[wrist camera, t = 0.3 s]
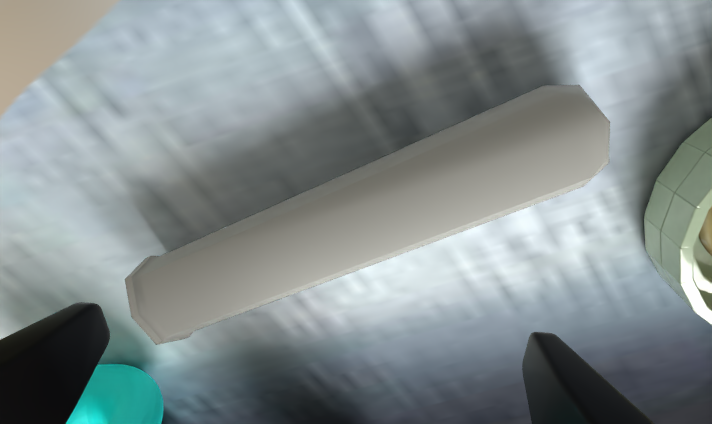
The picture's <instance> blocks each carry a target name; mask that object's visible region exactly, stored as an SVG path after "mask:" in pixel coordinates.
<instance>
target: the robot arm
mask: <svg viewBox="0 0 712 424" xmlns="http://www.w3.org/2000/svg"><path fill="white" fill-rule="evenodd" d="M109 339H110V331H109V328H108V325H107V323H106V320H105V317H104V315H103V312H102V309H101V307H100V306H99V305H98V304H95V303H82V302H81V303H75V304H73V305H71V306H69V307H67V308H65V309H63V310H61V311H59V312H56V313H54V314H52V315H50V316H48V317H46V318H44V319H42V320H40V321H38V322H36V323H34V324H32V325H30V326H28V327H26V328H24V329H22V330H20V331H17V332H15V333H13V334H11V335H9V336H7V337H5V338H3V339H1V340H0V424H66V422H67V421H68V419H69V417H70V416H71V414H72V412H73V411H74V409H75V407H76V405H77V403H78V401H79V400H80V398H81V396H82V394H83V392H84V390H85V388H86V386H87V384H88V382H89V380H90V378H91V376H92V374H93V372H94V370H95V368H96V366H97V364H98V362H99V360H100V358H101V356H102V354H103V353H104V351H105V349H106V347H107V345H108V342H109ZM522 370H523V377H524V383H525V388H526V393H527V399H528V404H529V410H530V415H531V421H532V424H654V423H653V422H652V421H651V420H650V419H649V418H648V417H647V416H646V415H644V414H643V413H642V412H641V411H640V410H639V409H638V408H637V407H635V406H634V405H633V404H632V403H631V402H630V401H629V400H628V399H627V398H625V397H624V396H623V395H622V394H621V393H620V392H619V391H618V390H617V389H615V388H614V387H613V386H612V385H611V384H610V383H609V382H608V381H607V380H605V379H604V378H603V377H602V376H601V375H600V374H599V373H598V372H597V371H595V370H594V369H593V368H592V367H591V366H590V365H589V364H588V363H587V362H585V361H584V360H583V359H582V358H581V357H580V356H579V355H578V354H576V353H575V352H574V351H573V350H572V349H571V348H570V347H569V346H568V345H566V344H565V343H564V342H563V341H562V340H561V339H560V338H559V337H558V336H556V335H555V334H553V333H544V332H533V333H531V335H530V337H529V340H528V344H527V347H526V351H525V355H524V359H523V364H522Z"/></svg>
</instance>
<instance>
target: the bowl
mask: <svg viewBox="0 0 712 424" xmlns="http://www.w3.org/2000/svg"><path fill="white" fill-rule="evenodd" d="M711 206H712V118H710V119H709V120H708V121H707V122H706V123H705V124H703V125H702V126H701V127H700V128H699V129H698V130H696V131H695V132H694V133H693V134H692V135H691V136H689V137H688V138H687V139H686V140H685V141H684V142H683V143H682V144H681V145H680V147H679V148H678V150H677V151H676V152H675V154H674V155H673V157H672V158H671V159H670V161H669V162H668V164H667V165H666V166H665V168H664V169H663V171H662V172H661V173H660V175H659V176H658V178H657V179H656V182H655V185H654V188H653V191H652V194H651V197H650V200H649V203H648V206H647V209H646V212H645V215H644V216H645V217H644V228H645V248H646V251H647V253H648V255H649V257H650V258H651V260H652V262H653V264H654V266H655V268H656V270H657V272H658V273H659V275H660V276H661V277H662V278H663V279H664V281H665V282H666V283H667V284H668V285H669V286H670V287H671V288H672V289H673V290H674V291H675V292H676V293H677V294H678V295H679V296H680V297H681V298H682V299H683V300H684V302H685V303H686V304H687V305H688V306H689V307H690V308H691V309H692V310H693V311H694V312H695V313H696V314H698V315H699V316H700V317H702V318H703V319H704V320H705V321H707V322H708V323H709V324H711V325H712V256H711V255H710V254H709V253H708V252H707V250H706V249H705V248H704V246H703V245H702V243H701V241H700V239H699V232H700V230H701V228H702V225H703V223H704V220H705V218H706V215H707V213H708V211H709V209H710V208H711Z"/></svg>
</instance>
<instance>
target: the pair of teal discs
mask: <svg viewBox="0 0 712 424" xmlns="http://www.w3.org/2000/svg"><path fill="white" fill-rule="evenodd" d="M162 418H163V398H162V395H161V391H160V389H159V387H158V385H157V383H156V382H155V381H154V380H153V378H152V377H151V376H150V375H148V374H147V373H146V372H144V371H142V370H140V369H138V368H136V367H133V366H129V365H124V364H101V365H97V366H96V368H95V370H94V372H93V374H92V376H91V378H90V380H89V382H88V384H87V386H86V388H85V390H84V392H83V394H82V396H81V398H80V400H79V401H78V403H77V405H76V407H75V409H74V411H73V412H72V414H71V416H70V417H69V419H68V421H67V422H66V424H161V423H162Z"/></svg>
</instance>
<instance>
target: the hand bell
mask: <svg viewBox="0 0 712 424" xmlns="http://www.w3.org/2000/svg"><path fill="white" fill-rule="evenodd" d="M699 239H700V241H701V243H702V245H703V246H704V248H705V249H706V250H707V252H708V253H709V254H710V255H711V256H712V206H711V208H710V209H709V211H708V213H707V215H706V218H705V220H704V223H703V225H702V228H701V230H700V232H699Z"/></svg>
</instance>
